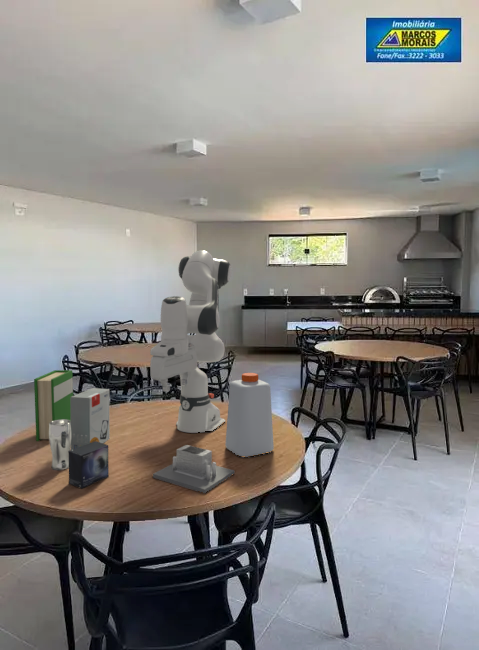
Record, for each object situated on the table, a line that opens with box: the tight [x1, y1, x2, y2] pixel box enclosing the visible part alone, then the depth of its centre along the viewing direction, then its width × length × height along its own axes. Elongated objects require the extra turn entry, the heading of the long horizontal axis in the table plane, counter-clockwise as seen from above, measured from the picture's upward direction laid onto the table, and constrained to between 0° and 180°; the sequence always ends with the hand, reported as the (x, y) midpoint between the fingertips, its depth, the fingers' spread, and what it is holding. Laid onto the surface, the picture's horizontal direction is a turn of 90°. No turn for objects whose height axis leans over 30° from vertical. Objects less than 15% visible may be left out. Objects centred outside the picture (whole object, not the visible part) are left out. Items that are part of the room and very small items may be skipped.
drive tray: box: [152, 455, 236, 494], centre depth 143 cm, size 16×20×5 cm
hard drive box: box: [70, 387, 111, 450], centre depth 169 cm, size 16×8×20 cm, turn 168°
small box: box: [68, 441, 110, 489], centre depth 139 cm, size 11×6×10 cm, turn 148°
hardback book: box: [33, 369, 74, 442], centre depth 182 cm, size 18×7×24 cm, turn 178°
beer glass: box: [48, 419, 72, 471], centre depth 149 cm, size 7×7×15 cm
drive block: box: [176, 444, 213, 478], centre depth 143 cm, size 5×10×7 cm, turn 58°
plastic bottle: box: [225, 372, 274, 458], centre depth 165 cm, size 15×15×28 cm
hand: (175, 387), depth 151 cm, fingers open, 8 cm apart
